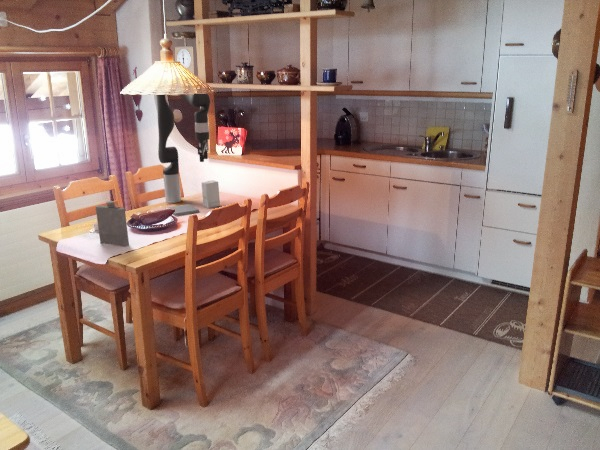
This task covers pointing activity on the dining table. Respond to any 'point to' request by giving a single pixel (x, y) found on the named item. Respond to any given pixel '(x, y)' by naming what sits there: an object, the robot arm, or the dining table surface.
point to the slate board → (184, 209)
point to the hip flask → (112, 224)
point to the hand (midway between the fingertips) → (203, 160)
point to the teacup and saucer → (95, 227)
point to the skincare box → (210, 194)
